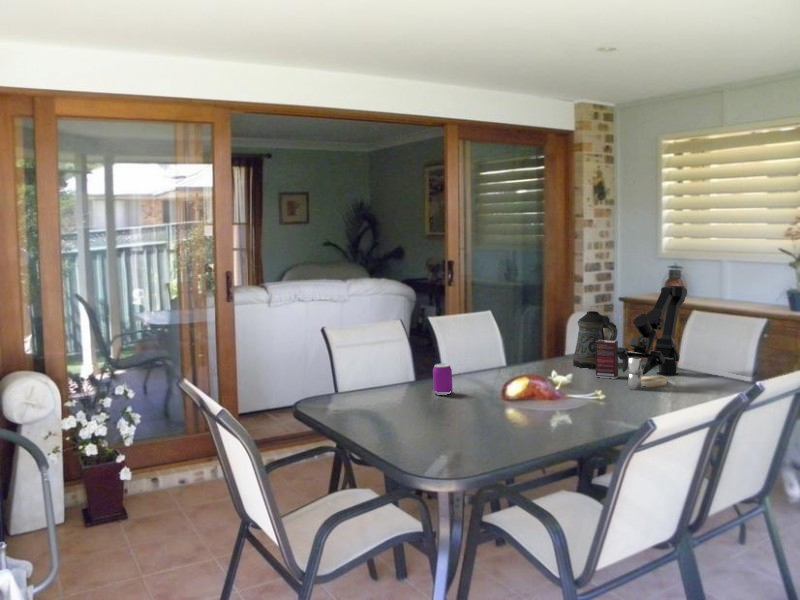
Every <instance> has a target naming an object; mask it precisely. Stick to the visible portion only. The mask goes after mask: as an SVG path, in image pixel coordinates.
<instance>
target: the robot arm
mask: <svg viewBox="0 0 800 600" xmlns="http://www.w3.org/2000/svg"><path fill="white" fill-rule="evenodd" d="M687 295H688V289H687V288H686V287H685V286H684V285H675V284H672V285H671V284H670V285H668V286H662V287H661V288H660V294H659V296H658V298H657V300H656V302H655V304H654V306H653V308H652V310H649V311H648V312H647V313H640V315H638V316H636V317H635V318H634V319H633V324H634V326H635V328H636V331H637V332H638V334H640V336H639V337H630V339H629V344H628V346H631V350H632V351H630V350H629V349H628V347H621V346H618V348H617V350H616V353H617V355H618V359H619V360H621V361H622V372H623V373H625V372H626V371H627V369H628V358H629V357H640V358H641V359H646V360H647V361H646V363H645V366H644V368H643V370H642V372H641V375H642V376H646V374H648V372H650V371H652V369H654V368H655V367H658V371H657V372H656V374H657V375H662V376H667V377H670V376H676V375H679V372H677V363H676V362H679V361H680V357H681V356H680V353H679V351H678V349H677V343H676V340H675V334H676V328H677V323H678V317H679V311H680V308H681V305H683V303H684V302H685V300H686V297H687ZM664 315H665V318H664ZM662 329H663V330H662ZM660 330H662V335H661V336H660V337H659V338H658V333H657V331H660ZM655 340H656V341H655ZM654 342H655V343H656V344H655V346H654V347H653V345H654ZM653 349H654V350H653Z"/></svg>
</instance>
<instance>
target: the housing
mask: <svg viewBox="0 0 800 600" xmlns="http://www.w3.org/2000/svg"><path fill="white" fill-rule="evenodd" d="M627 369H628V370H627V371H628V373H627V374H628V375H627V377H628V378H627V379H628V381H627V382H628V383H627V384H628V387H627V389H628V388H629V389H628V390H630V389H632V390H631V391H640V390H639V389H641V390H642V386H641V376H642V358H640V357H629V358H628V367H627Z"/></svg>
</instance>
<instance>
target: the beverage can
mask: <svg viewBox="0 0 800 600" xmlns="http://www.w3.org/2000/svg"><path fill="white" fill-rule="evenodd" d="M452 371H453V370H452V367H451V364H450V363H436V364H434V366H433V369H432V377H433V378H432V380H433V382H432V383H433V392H434V391H437V392H450V391H452V392H453V372H452Z"/></svg>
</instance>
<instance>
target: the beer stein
mask: <svg viewBox="0 0 800 600" xmlns="http://www.w3.org/2000/svg"><path fill="white" fill-rule="evenodd" d="M577 326H578V333H577V340H576V346H575V350H574V353H573V356H572V366H573V367H575V366H576V367H575V368H577V367H579V369H582V368H589V369H588V370H596V352H595V341H597V340H606V339H605V332H604V331H605V329H609V330H610V331H611V336H610V338H609V340H611V341H617V338H618V328H617V325H616V324H614V322H612V321H610V318H609V317H608V316H607V315H602V314H601V313H599V311H594V310H593V311H591V310H589V311H587V312H586V314H584V315H582V316H581V317H580V318H579V319H578V321H577Z"/></svg>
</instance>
